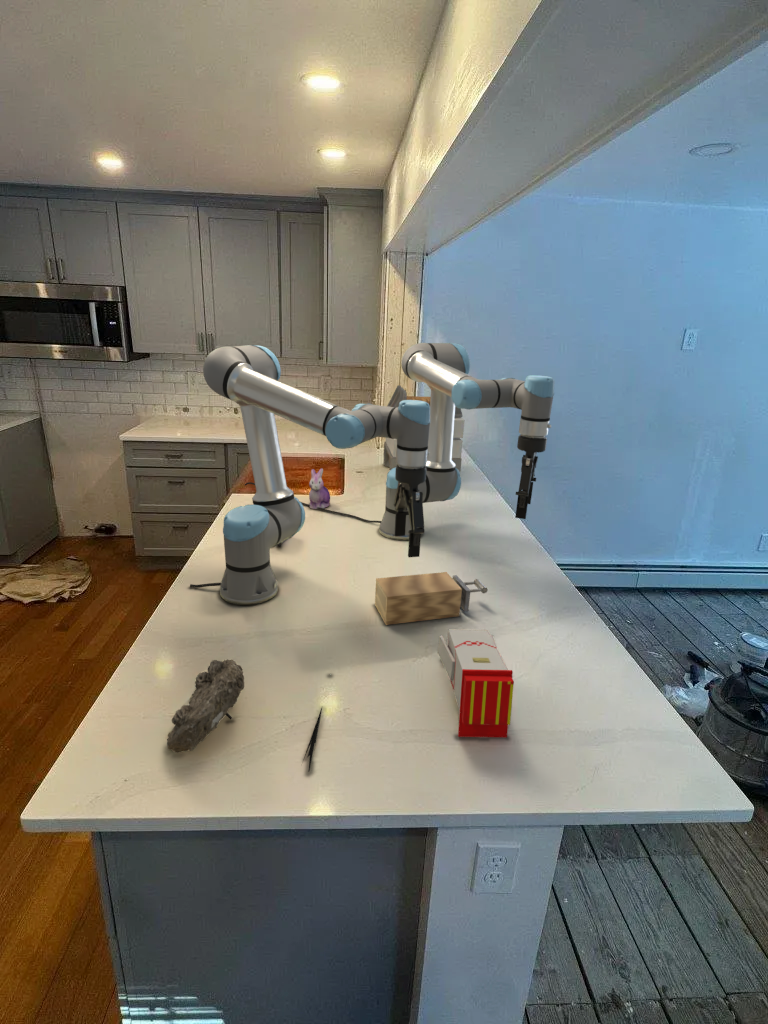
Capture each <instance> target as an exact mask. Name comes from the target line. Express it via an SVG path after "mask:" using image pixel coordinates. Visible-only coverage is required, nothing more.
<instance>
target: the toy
mask: <svg viewBox="0 0 768 1024" xmlns="http://www.w3.org/2000/svg"><path fill="white" fill-rule="evenodd" d="M446 640H447V643H446V641H445V639H444V636H443V635H442V634H439V637H438V646H437V656H438V657H439V659H440V661H441V663H442V666H443V668H444V670H445V672H446V674H447V677H448V679H449V681H450V684H451V687H452V690H453V693H454V697H455V701H456V705H457V708H458V711H459V714H458V715H459V716H458V730H457V731H458V732H457V737H458V738H508V731H509V726H510V725H511V717H512V707H513V697H514V696H513V695H514V684H515V680H514V679H513V673H514V671H513V670H512V669H508V667H507V665H506V662H505V661H504V659H503V658H502V655H501V653H500V651H499V649H498V647H497V643H496V639H495V637H494V635H493V634H491V632H490V631H489V629H467V628H466V629H465V628H463V629H461V628H460V629H459V628H448V630H447V639H446Z"/></svg>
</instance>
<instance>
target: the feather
mask: <svg viewBox="0 0 768 1024" xmlns="http://www.w3.org/2000/svg"><path fill="white" fill-rule="evenodd" d="M329 675H330V676H331V675H332V674H331V673H330V674H329ZM322 710H323V707H321V708H320V710H319V713H318V716H317V719H316V723H315V725H314V728H313V731H312V733H311V737H310V739H309V742H308V745H307V748H306V751H305V754H304V757H303V760H302V763H301V767H302V765H303V763H304V761H305V758H308V759H309V760H308V762H307V763H308V764H307V766H308V771H310V770H311V766H312V765H311V764H312V760H313V757H315V756H314V755H315V751H316V749H315V746H317V739H318V733H319V729H320V722H321V717H322V712H323V711H322ZM313 754H314V755H313ZM306 755H307V757H306Z"/></svg>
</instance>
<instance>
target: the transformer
mask: <svg viewBox="0 0 768 1024" xmlns="http://www.w3.org/2000/svg"><path fill="white" fill-rule="evenodd" d="M407 394H408V393H407V390H406V389H404V388H403V387H402V385H399V384H398V385H397V386H396V388H395V390H394V392H393V394H392V395H391V398H390V400H389V402H388V404H387V405H386V406H387V407H395V408H397V407H399V403H400V402H401V401H403V400H420V401H425V402H427V403H428V404H429V405H430V398H431V396H415V395H414V396H413V395H412V396H411V395H407ZM464 429H465V419H464V418H463V411H462V409H460V408H457V407H456V406H455V418H454V433H453V447H452V461H453V462H454V463H455V465H456V466H455V468H457V469H458V471H459V472H460V475H461V472H462V461H463V460H462V453H463V442H464V441H463V440H462V439H463V438H464V431H465V430H464ZM396 450H397V439H391V438H384V442H383V466H384V467H388V468H389V471H390V470H391V469H393V468H395V467H396V466H397V465H398V464H397V463H396Z"/></svg>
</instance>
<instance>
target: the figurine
mask: <svg viewBox="0 0 768 1024" xmlns="http://www.w3.org/2000/svg"><path fill="white" fill-rule="evenodd" d="M310 473H311V474H310V475H311V477H310V480H309V483H308V486H309V488H310V491H309V492H308V499H309V502H308V503H309V505H310V507H309V508H310V509H313V510H318V509H317V507H319V508H323V509H326V508H327V507H329V506H330V503H331V494H330V491H329V489H328V488H327V487H326V486H324V484H325V483H324V480H323V479H322V478H323V474H324V469H323V468H322V467H321V468H320V469H319V470H318V471H317V472H316V470H315V469H314V468H312V469H311V472H310Z"/></svg>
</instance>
